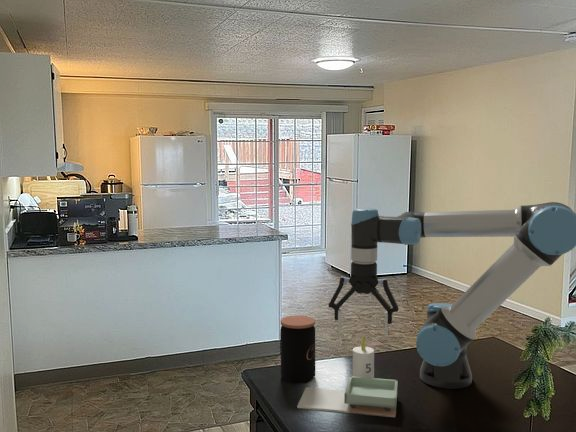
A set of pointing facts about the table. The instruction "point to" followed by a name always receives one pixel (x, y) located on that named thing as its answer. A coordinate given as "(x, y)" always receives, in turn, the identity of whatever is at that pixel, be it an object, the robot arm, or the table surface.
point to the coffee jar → (297, 349)
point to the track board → (337, 403)
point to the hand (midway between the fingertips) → (362, 332)
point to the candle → (363, 360)
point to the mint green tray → (371, 392)
